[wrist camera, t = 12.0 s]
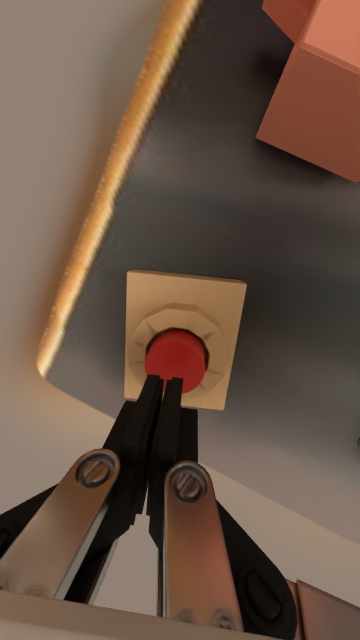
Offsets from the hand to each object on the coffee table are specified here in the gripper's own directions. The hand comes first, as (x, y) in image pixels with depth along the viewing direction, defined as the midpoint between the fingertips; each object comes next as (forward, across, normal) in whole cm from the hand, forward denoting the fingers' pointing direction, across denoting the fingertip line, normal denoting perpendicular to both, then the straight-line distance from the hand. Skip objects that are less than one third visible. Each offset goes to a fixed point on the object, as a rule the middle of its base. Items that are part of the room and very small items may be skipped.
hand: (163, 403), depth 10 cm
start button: (+5, 0, 0) cm, 5 cm away
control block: (+8, 0, 0) cm, 8 cm away
